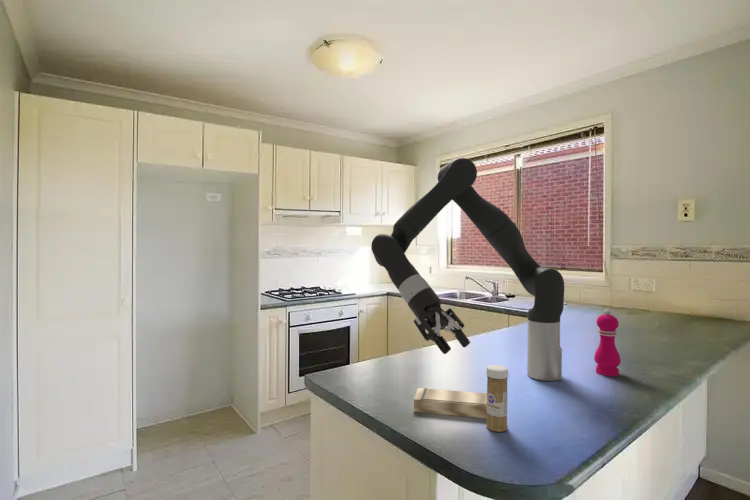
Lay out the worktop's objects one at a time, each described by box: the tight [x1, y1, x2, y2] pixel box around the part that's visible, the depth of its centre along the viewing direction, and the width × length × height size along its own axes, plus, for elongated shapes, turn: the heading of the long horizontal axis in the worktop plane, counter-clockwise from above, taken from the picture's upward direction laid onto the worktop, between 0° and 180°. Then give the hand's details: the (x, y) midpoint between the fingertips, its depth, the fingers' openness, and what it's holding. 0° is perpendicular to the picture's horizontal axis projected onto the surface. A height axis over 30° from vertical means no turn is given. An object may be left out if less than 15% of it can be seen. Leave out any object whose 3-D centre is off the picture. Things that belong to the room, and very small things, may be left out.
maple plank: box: [413, 387, 487, 420], centre depth 99 cm, size 20×8×3 cm, turn 77°
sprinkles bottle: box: [485, 364, 509, 433], centre depth 89 cm, size 5×5×14 cm
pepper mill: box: [593, 309, 622, 377], centre depth 126 cm, size 7×7×20 cm
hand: (457, 348), depth 96 cm, fingers open, 8 cm apart
